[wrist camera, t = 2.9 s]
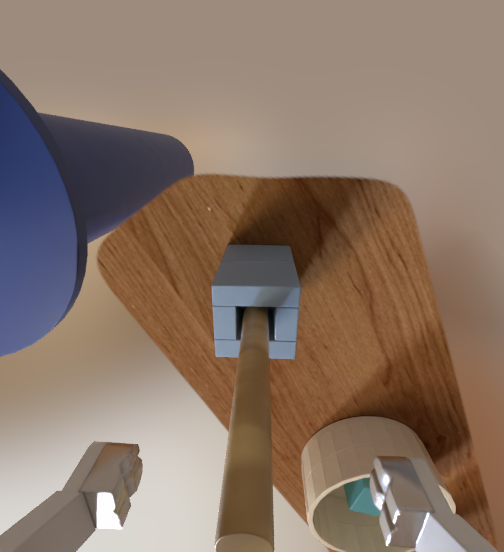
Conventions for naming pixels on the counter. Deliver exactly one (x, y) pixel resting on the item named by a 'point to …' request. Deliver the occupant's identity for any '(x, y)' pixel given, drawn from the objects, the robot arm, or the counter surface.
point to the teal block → (360, 497)
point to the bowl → (349, 467)
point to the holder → (256, 297)
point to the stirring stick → (249, 447)
